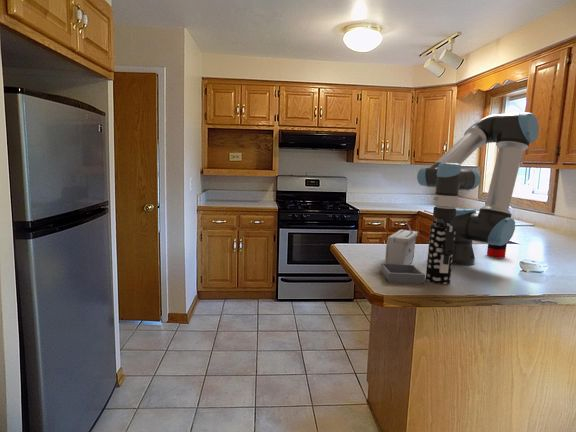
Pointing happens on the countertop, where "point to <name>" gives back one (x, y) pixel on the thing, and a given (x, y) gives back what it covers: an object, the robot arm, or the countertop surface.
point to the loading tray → (402, 274)
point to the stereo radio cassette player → (401, 247)
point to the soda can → (496, 251)
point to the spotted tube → (437, 257)
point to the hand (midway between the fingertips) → (438, 268)
